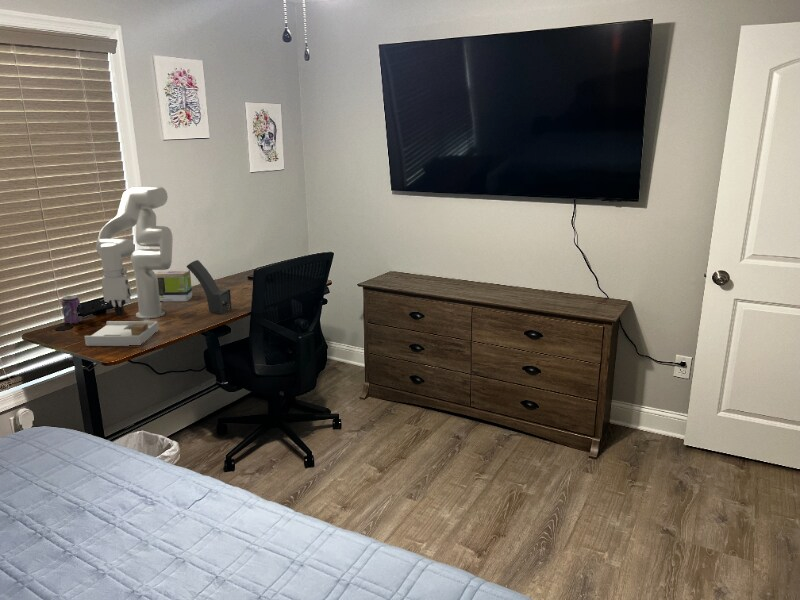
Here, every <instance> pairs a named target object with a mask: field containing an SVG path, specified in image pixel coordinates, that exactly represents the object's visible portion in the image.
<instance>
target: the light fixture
mask: <svg viewBox="0 0 800 600" xmlns="http://www.w3.org/2000/svg"><path fill="white" fill-rule="evenodd" d="M186 268H187V270H190V273H192V274H193V276H195V278H196V280H197V281H198V283H199V284H200V287H202V290H203V291H204V294H205V297H206V300H207V307H208V311H209V312H208V313H209V314H213V313H215V314H216V313H217V314H218V313H219V315H224V314H225V313H227V312H229V310H228V309H230V310H231V309H232V298H231V289H230V288H229V289H228V288H227V289H225V290H222V289H220V288H219V287H218V285H217V283H216V282H215V279H214V278H213V277H212V275H211V274H210V273H209V271H208V269H207V268H206V266H204V265H203V264H202V262H200V260H198V259H196V260H194V261H192V262H190V263H188V264H187V266H186Z"/></svg>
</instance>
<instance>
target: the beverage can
mask: <svg viewBox="0 0 800 600" xmlns="http://www.w3.org/2000/svg"><path fill="white" fill-rule="evenodd" d="M61 299H62V301H61V305H62V314H63V319H64V323H65V324H67V323H70V324H69V325H73V324H72V323H77V324H79V323H78V322H80V323H81V322H82V321H83V315H82V316H78V315H77V314H76V313H77V307H78V305H80V306H81V302H80V298H79V296H78V295H75V294H74V295H72V294H71V295H65V296H63V297H62V298H61Z"/></svg>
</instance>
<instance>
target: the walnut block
mask: <svg viewBox="0 0 800 600" xmlns="http://www.w3.org/2000/svg"><path fill="white" fill-rule="evenodd" d="M146 329H148V323H135V324H134V325H133V326H131V333H132V335H140V334H141V333H143V332H144V331H145V330H146Z"/></svg>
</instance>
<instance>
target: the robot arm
mask: <svg viewBox="0 0 800 600" xmlns="http://www.w3.org/2000/svg"><path fill="white" fill-rule="evenodd" d="M167 202H168V192H167V190H166V188H164V187H162V186H132V187H130V188H128V189H127V190H125V191H124V192H123V193H122V196H121V199H120V202H119V205H118V209H117V213H116V215H115V216H114V218H111V220H109V221H108V222H107V223H105V225H103V227H101V230H100V231H99V234H98V236H97V240H96V243H95V244H96V245H95V249H96V252H97V253H98V255H99V256H100V258H101V259H100V260H101V266H102V273H103V274H102V275H103V276H102V279H101V280H102V281H101V288H102V289H101V291H102V297H103V299H104V302H106V303H109V304H111V305H112V307H113V308H114V314H116V315H115V317H121V316H123V314H124V312H125V308H124V305H125V304H126V303H130V302H131V301H132V298H131V296H132V290H131V286H130V282H129V278H128V276H127V274H128V271H127V270H126V269H124V266H123V258H127V257H129V256H130V262H131V266H132V268H133V273H134V280H135V286H136V296H137V304H138V312H136V313H135V317H136V318H137V319H140V320H141V319H143V320H150V318H151V319H156V318H160V316H161V317H162V316H164V315H165V310H163V309H161V308H162V307H161V306H162V305H163V302H160V297H159V287H158V278H157V276H156V273H155V272H154V271H161V270H170V268H171V266H172V262H173V240H174V239H173V233H172V229H170V227H168V226H165V225H157V215H156V213H155V211H154V209H158V208H161V207H162V206H164V205H165V204H166V203H167ZM133 227H135V243H136V244H137V245H138V246H140V247H141V246H142V247H153V248H140V249H139V248H138V249H135V244H134V242H133V241H132V240H131V239H128V238H119V237H118V238H115V237H114V236H115V235H116V234H119V233H120V232H123V231H127V230H128V229H131V228H133ZM154 247H158V249H157V248H155V249H154Z"/></svg>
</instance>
